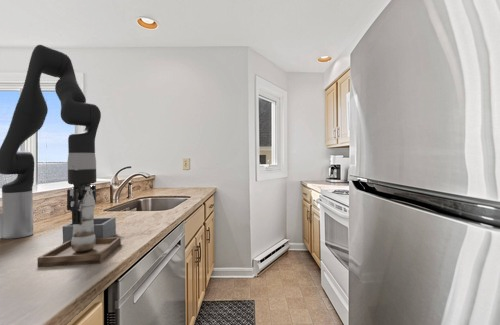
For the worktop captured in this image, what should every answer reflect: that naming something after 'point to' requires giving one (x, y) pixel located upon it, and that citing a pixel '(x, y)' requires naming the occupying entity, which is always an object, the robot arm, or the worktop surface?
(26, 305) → the worktop surface
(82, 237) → the plastic bottle
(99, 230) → the holder
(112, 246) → the tray
